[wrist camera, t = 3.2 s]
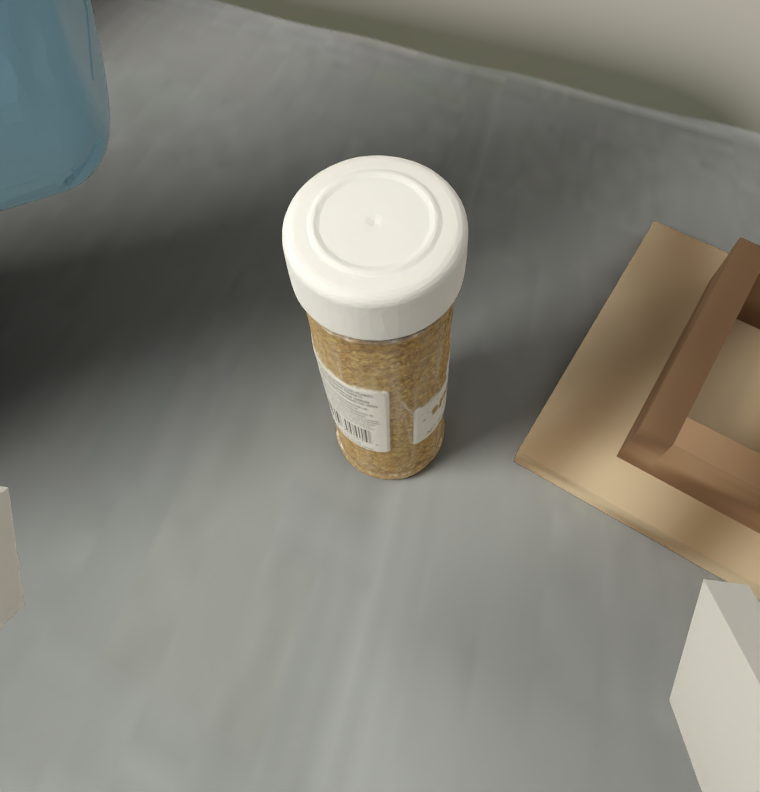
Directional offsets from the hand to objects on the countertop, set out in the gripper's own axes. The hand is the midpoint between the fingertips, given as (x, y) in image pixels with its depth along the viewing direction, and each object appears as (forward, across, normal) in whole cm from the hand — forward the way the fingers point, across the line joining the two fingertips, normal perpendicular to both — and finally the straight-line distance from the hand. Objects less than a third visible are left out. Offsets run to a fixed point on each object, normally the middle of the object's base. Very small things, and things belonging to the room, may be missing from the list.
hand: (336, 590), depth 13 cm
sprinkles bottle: (+15, 0, -3) cm, 16 cm away
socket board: (+17, +15, -2) cm, 22 cm away
